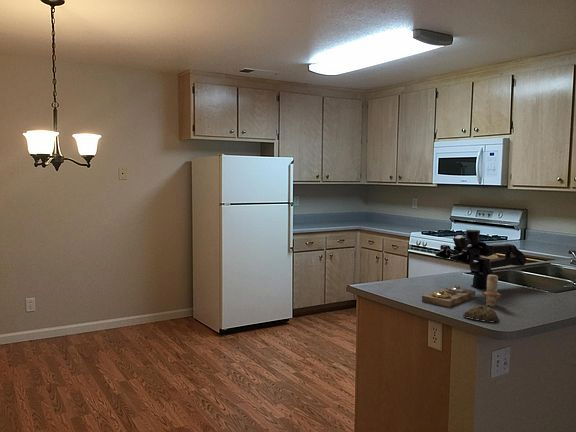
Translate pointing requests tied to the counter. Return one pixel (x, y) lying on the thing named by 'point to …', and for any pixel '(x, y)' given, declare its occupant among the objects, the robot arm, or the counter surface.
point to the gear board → (447, 302)
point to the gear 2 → (457, 289)
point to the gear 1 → (441, 294)
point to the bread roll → (481, 313)
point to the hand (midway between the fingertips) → (442, 256)
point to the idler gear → (491, 290)
